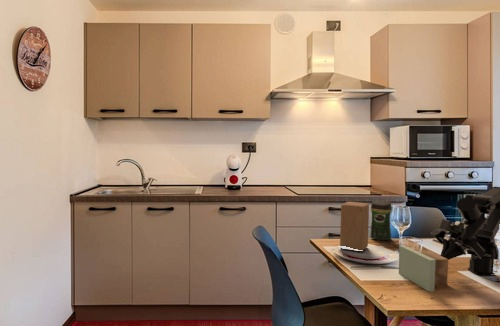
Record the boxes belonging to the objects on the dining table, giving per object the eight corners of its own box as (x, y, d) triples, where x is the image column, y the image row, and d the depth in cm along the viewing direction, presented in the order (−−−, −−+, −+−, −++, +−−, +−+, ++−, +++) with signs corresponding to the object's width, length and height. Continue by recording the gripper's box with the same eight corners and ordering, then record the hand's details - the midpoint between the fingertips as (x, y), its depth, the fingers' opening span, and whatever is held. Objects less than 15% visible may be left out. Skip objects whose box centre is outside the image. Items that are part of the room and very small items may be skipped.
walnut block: (430, 275, 125) (431, 251, 124) (447, 284, 117) (448, 259, 116) (410, 276, 123) (411, 252, 123) (425, 285, 115) (426, 260, 115)
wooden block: (362, 253, 149) (363, 206, 148) (339, 249, 154) (340, 204, 153) (368, 247, 157) (369, 203, 156) (346, 244, 163) (347, 201, 162)
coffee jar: (391, 238, 174) (393, 200, 173) (389, 242, 167) (391, 203, 166) (371, 235, 179) (372, 199, 178) (368, 239, 172) (369, 201, 171)
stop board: (403, 272, 127) (404, 245, 126) (434, 291, 111) (435, 259, 111) (398, 273, 127) (399, 245, 126) (428, 291, 111) (429, 260, 110)
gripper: (435, 206, 129) (408, 238, 128) (478, 216, 111) (446, 254, 109) (454, 226, 131) (427, 258, 130) (498, 240, 113) (468, 276, 111)
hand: (440, 260), depth 120 cm, fingers closed, pressing on walnut block
